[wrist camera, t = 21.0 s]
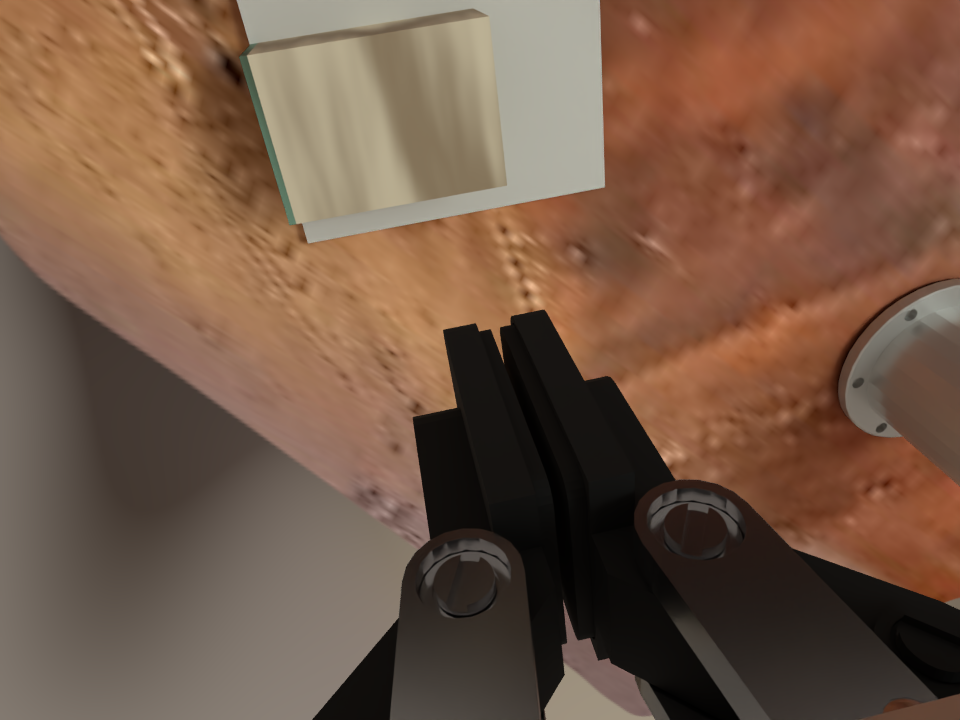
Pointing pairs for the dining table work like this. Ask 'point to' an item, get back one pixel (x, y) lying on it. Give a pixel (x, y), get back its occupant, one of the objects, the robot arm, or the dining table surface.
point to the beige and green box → (379, 114)
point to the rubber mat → (520, 87)
